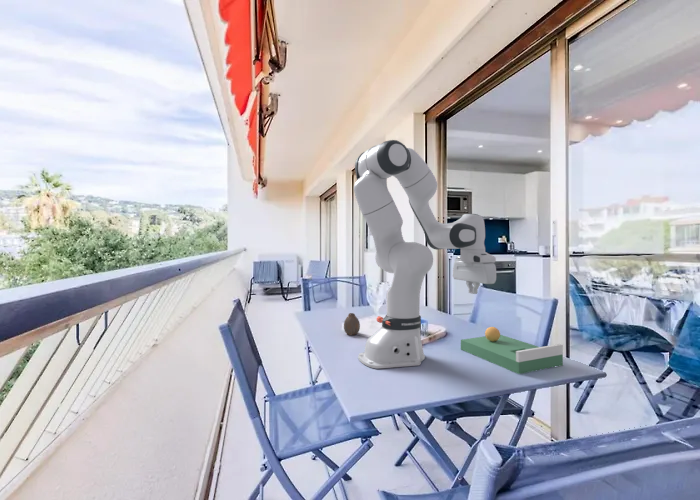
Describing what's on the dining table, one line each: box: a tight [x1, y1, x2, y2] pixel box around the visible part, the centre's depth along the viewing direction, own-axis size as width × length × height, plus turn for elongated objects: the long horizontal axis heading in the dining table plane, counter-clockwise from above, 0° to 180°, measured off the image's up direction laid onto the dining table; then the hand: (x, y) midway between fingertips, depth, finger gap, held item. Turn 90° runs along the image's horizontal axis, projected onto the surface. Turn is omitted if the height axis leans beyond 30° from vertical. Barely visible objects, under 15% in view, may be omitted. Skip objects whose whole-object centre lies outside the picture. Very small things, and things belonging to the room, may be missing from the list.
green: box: [460, 334, 564, 375], centre depth 120 cm, size 18×26×6 cm
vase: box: [343, 312, 361, 336], centre depth 152 cm, size 7×7×9 cm
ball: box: [484, 326, 501, 341], centre depth 126 cm, size 5×5×5 cm
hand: (473, 293), depth 135 cm, fingers closed
